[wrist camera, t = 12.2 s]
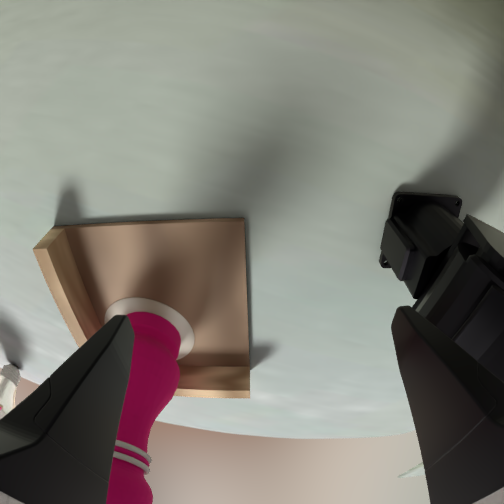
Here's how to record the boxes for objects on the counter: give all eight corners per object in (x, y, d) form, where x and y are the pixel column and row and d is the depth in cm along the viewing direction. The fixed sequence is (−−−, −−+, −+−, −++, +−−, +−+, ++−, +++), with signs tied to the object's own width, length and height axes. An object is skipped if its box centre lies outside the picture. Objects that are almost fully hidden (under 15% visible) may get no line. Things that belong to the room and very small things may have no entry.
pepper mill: (108, 339, 29) (52, 522, 12) (123, 294, 26) (47, 522, 9) (171, 365, 31) (142, 550, 14) (198, 326, 28) (169, 557, 11)
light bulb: (38, 374, 35) (11, 440, 25) (27, 384, 38) (3, 442, 28) (2, 345, 33) (-31, 410, 22) (-6, 358, 35) (-34, 416, 25)
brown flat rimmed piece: (244, 218, 22) (243, 244, 19) (249, 370, 32) (249, 398, 29) (53, 226, 22) (32, 249, 20) (111, 363, 32) (103, 387, 29)
